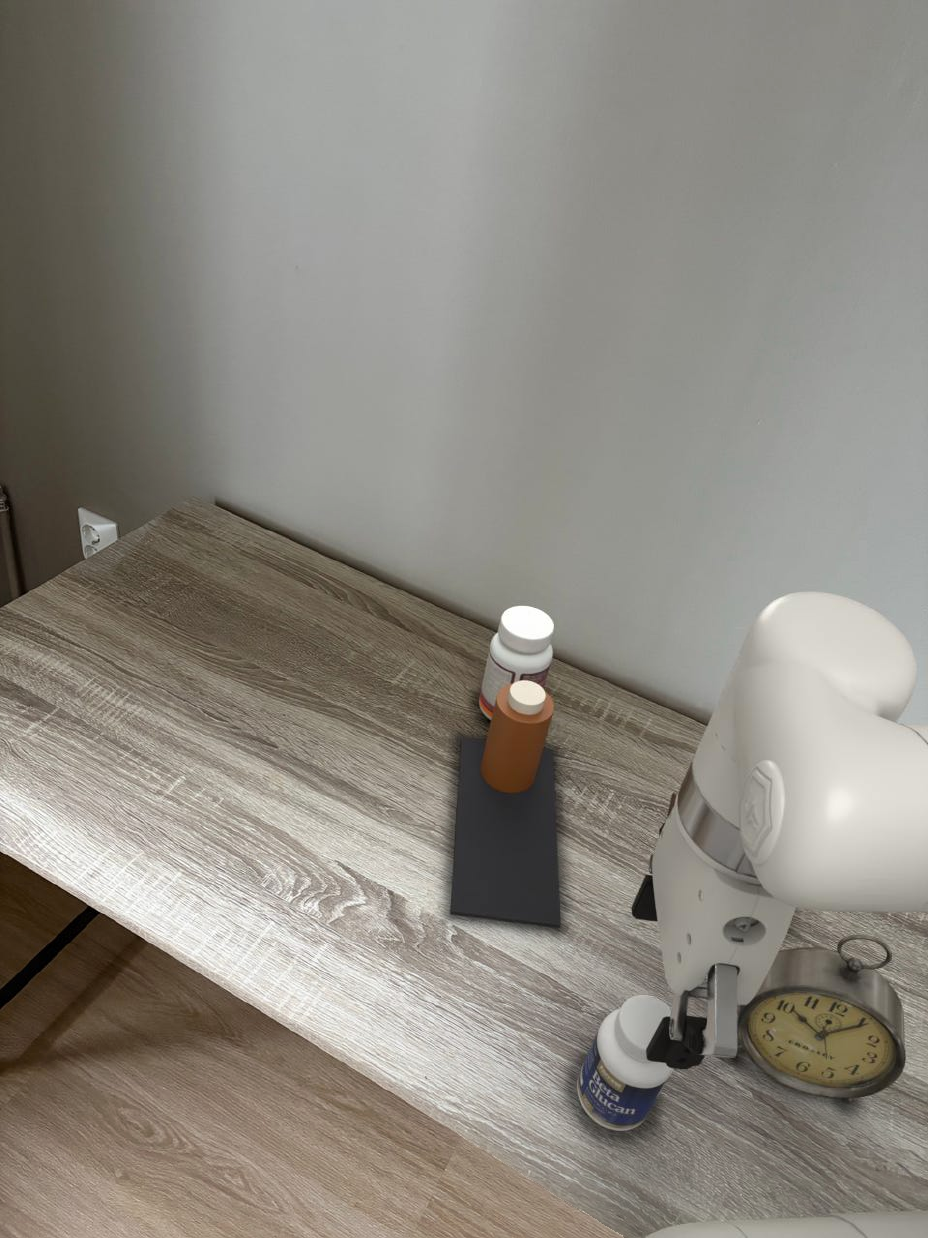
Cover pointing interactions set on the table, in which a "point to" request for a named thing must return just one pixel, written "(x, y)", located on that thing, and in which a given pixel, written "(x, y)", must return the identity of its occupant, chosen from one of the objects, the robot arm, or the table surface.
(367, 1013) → the table surface
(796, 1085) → the alarm clock
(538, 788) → the plate
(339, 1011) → the table surface
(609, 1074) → the pill bottle
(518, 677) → the pill bottle
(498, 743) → the amber bottle
